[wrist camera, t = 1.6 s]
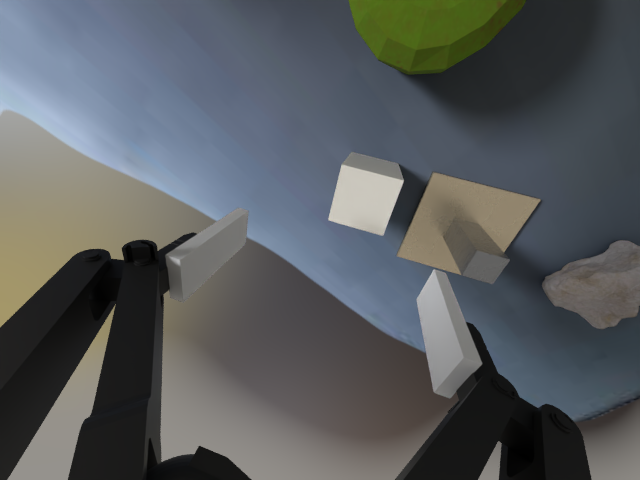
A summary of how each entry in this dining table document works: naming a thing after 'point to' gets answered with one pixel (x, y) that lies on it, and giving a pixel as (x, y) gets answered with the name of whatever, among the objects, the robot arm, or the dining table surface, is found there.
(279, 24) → the dining table surface
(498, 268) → the square base with post
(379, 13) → the green apple
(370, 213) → the cream cuboid
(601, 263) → the stone
